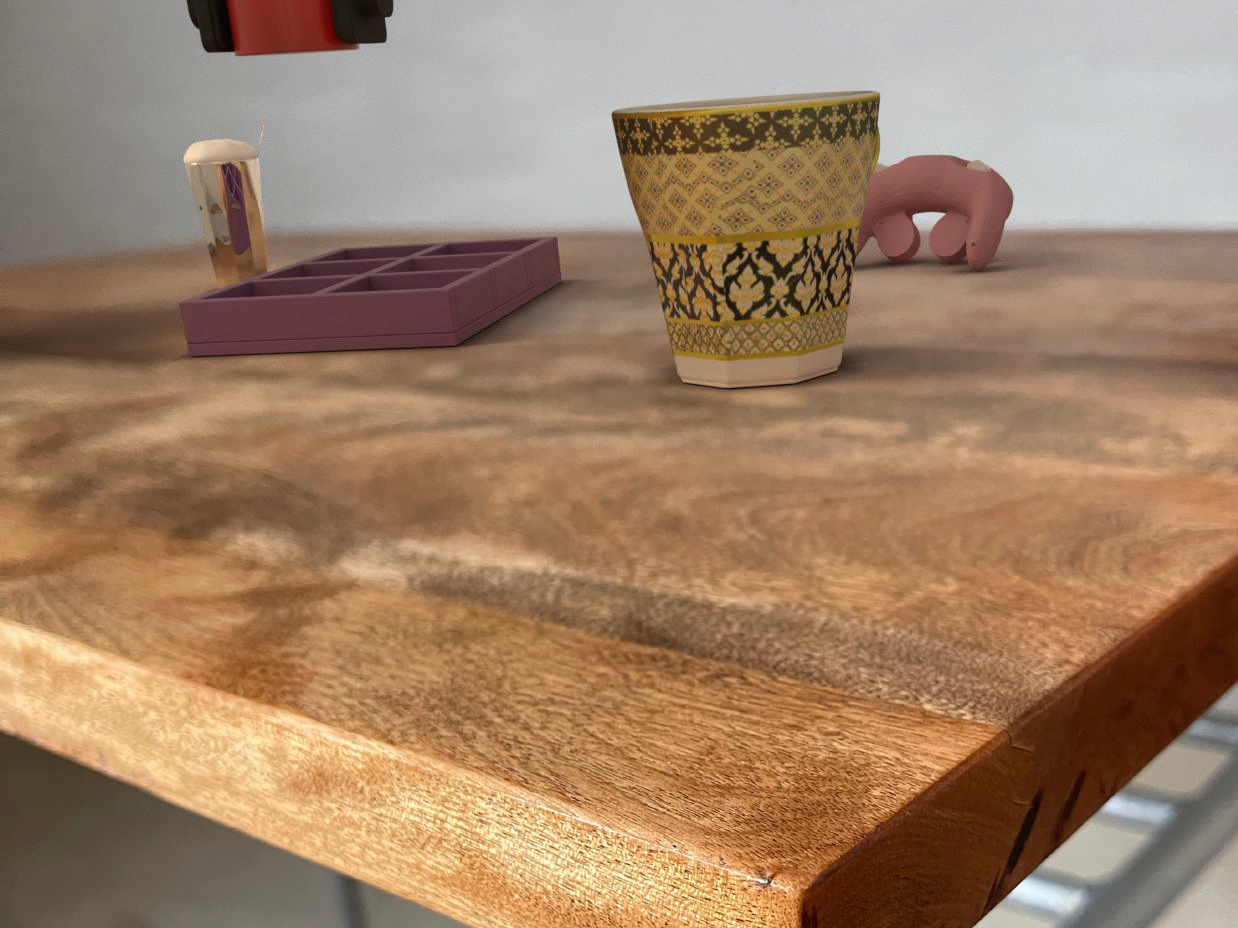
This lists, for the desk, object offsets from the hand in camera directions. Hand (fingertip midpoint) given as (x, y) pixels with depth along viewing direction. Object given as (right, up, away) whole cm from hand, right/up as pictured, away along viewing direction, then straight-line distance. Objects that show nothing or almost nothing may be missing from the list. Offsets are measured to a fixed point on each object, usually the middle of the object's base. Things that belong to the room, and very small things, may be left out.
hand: (296, 41), depth 51 cm
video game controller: (+27, +1, +30) cm, 41 cm away
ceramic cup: (+18, -10, +7) cm, 22 cm away
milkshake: (-14, +3, +41) cm, 44 cm away
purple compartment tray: (-2, -3, +26) cm, 26 cm away
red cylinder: (0, 0, 0) cm, 0 cm away
